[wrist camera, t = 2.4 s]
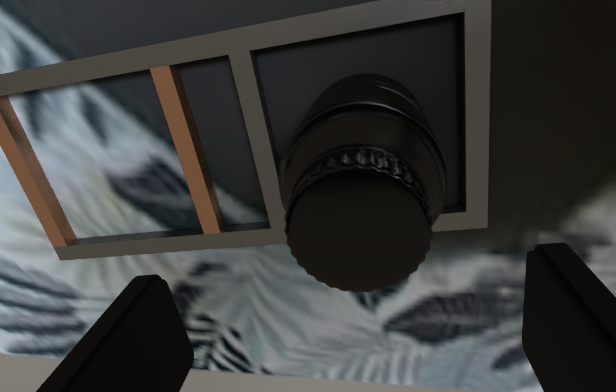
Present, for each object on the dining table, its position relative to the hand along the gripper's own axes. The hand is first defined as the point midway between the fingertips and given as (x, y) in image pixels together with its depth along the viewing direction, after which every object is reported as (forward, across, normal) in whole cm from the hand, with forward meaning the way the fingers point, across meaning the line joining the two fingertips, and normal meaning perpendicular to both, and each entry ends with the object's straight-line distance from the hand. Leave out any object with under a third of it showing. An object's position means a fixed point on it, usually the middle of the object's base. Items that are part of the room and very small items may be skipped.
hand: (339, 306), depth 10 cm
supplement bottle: (+15, -1, -1) cm, 15 cm away
